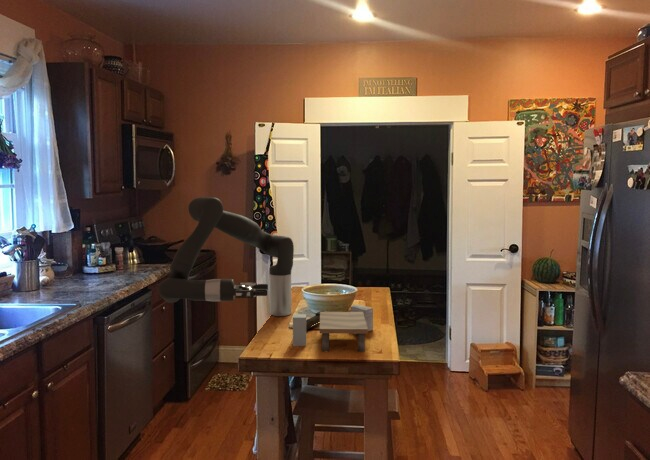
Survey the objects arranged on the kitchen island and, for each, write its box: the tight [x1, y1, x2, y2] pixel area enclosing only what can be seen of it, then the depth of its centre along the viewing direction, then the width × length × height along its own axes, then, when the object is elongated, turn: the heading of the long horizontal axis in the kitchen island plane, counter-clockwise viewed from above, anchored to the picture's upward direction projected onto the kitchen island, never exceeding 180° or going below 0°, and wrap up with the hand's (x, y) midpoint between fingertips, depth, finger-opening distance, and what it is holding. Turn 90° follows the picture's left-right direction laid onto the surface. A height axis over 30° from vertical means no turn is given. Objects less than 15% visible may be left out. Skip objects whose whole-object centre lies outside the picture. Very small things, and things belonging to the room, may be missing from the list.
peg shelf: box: [319, 311, 369, 353], centre depth 184 cm, size 22×16×8 cm
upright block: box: [292, 313, 307, 347], centre depth 182 cm, size 4×4×10 cm
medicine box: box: [350, 304, 374, 332], centre depth 200 cm, size 8×4×9 cm, turn 43°
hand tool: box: [306, 310, 325, 332], centre depth 204 cm, size 19×4×5 cm, turn 149°
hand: (267, 289), depth 180 cm, fingers open, 8 cm apart
